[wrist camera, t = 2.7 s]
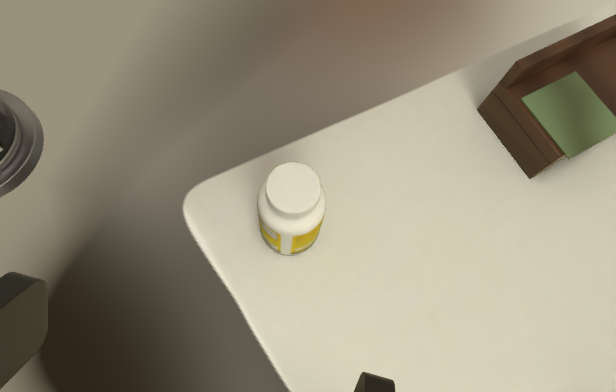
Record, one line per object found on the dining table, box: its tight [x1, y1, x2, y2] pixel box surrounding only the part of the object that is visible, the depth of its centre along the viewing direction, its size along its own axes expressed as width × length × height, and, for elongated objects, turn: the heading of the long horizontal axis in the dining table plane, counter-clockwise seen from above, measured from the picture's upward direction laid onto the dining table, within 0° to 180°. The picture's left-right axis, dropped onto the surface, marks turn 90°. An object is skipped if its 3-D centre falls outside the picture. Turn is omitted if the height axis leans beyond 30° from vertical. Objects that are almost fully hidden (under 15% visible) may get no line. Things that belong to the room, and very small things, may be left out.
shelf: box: [477, 15, 616, 179], centre depth 43 cm, size 16×10×8 cm, turn 119°
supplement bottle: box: [257, 162, 326, 255], centre depth 35 cm, size 5×5×10 cm
